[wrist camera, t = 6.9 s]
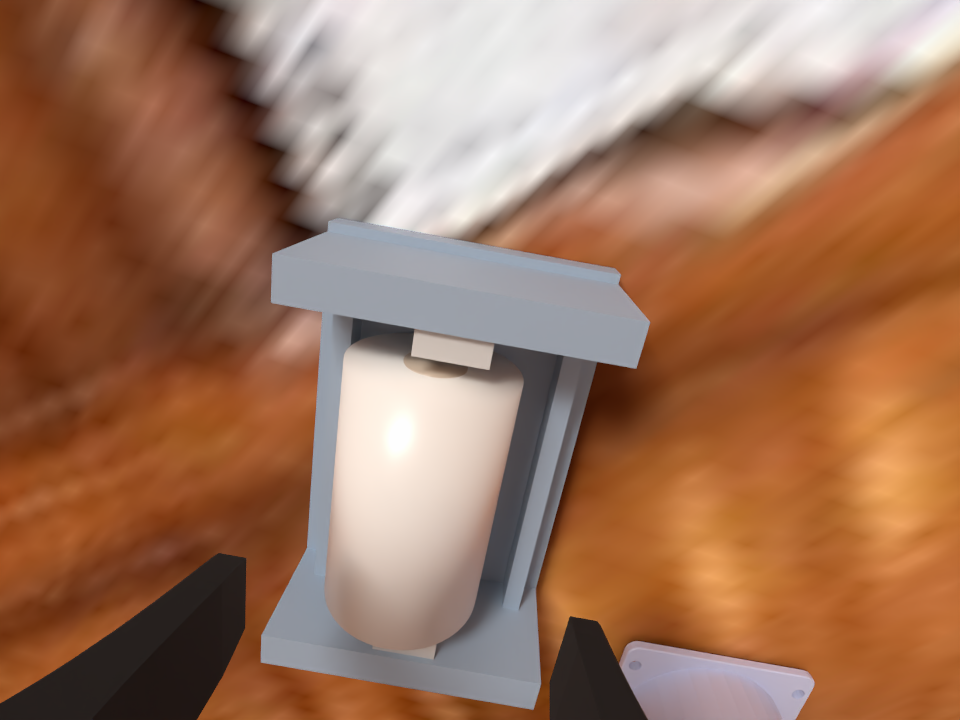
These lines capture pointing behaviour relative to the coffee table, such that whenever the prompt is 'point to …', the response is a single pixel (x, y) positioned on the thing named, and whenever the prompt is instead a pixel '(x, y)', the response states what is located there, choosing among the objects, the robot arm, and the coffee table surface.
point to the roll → (414, 490)
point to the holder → (533, 449)
